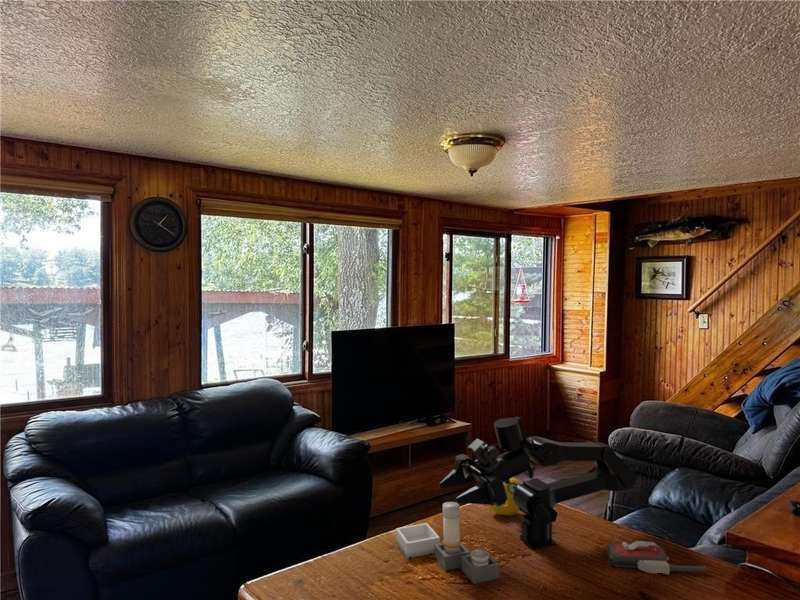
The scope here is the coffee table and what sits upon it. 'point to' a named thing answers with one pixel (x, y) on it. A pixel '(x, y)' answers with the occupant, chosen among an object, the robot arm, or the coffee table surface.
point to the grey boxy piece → (480, 570)
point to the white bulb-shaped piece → (451, 528)
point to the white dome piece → (479, 558)
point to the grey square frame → (449, 556)
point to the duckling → (508, 500)
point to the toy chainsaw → (643, 557)
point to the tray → (416, 540)
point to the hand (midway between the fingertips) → (447, 493)
